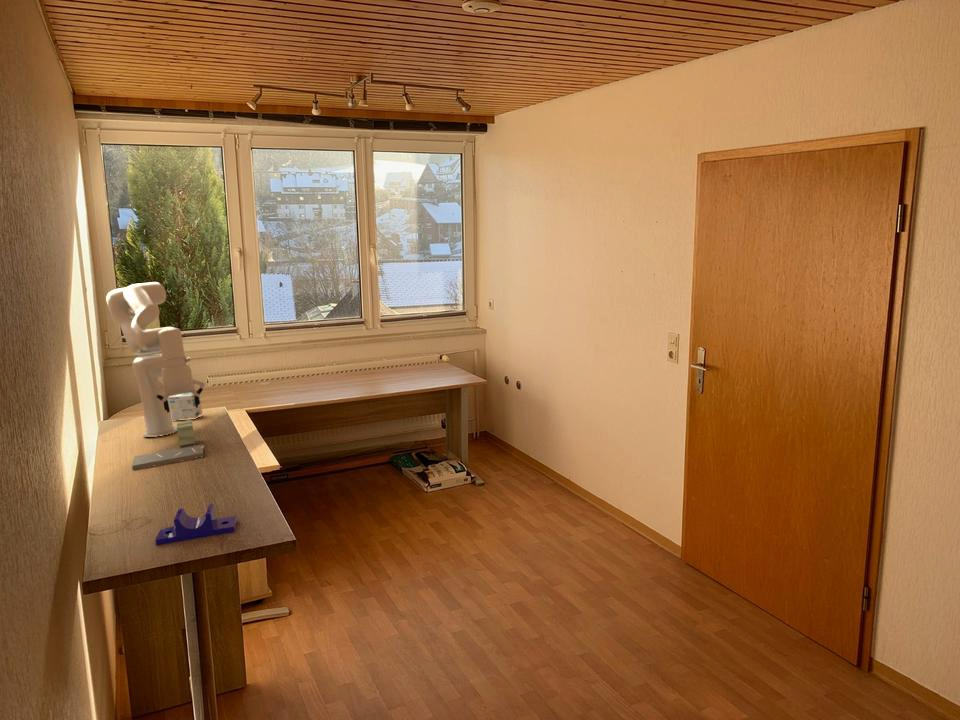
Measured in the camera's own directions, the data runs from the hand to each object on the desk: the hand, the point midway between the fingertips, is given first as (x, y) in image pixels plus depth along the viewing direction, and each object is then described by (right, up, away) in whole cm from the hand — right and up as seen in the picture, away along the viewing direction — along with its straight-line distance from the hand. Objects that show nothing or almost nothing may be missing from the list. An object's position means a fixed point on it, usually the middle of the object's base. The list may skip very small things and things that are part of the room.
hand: (182, 409), depth 256 cm
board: (+1, -16, -13) cm, 21 cm away
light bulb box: (-17, -7, +45) cm, 49 cm away
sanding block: (+1, -13, +3) cm, 14 cm away
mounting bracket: (+37, -25, -80) cm, 92 cm away
